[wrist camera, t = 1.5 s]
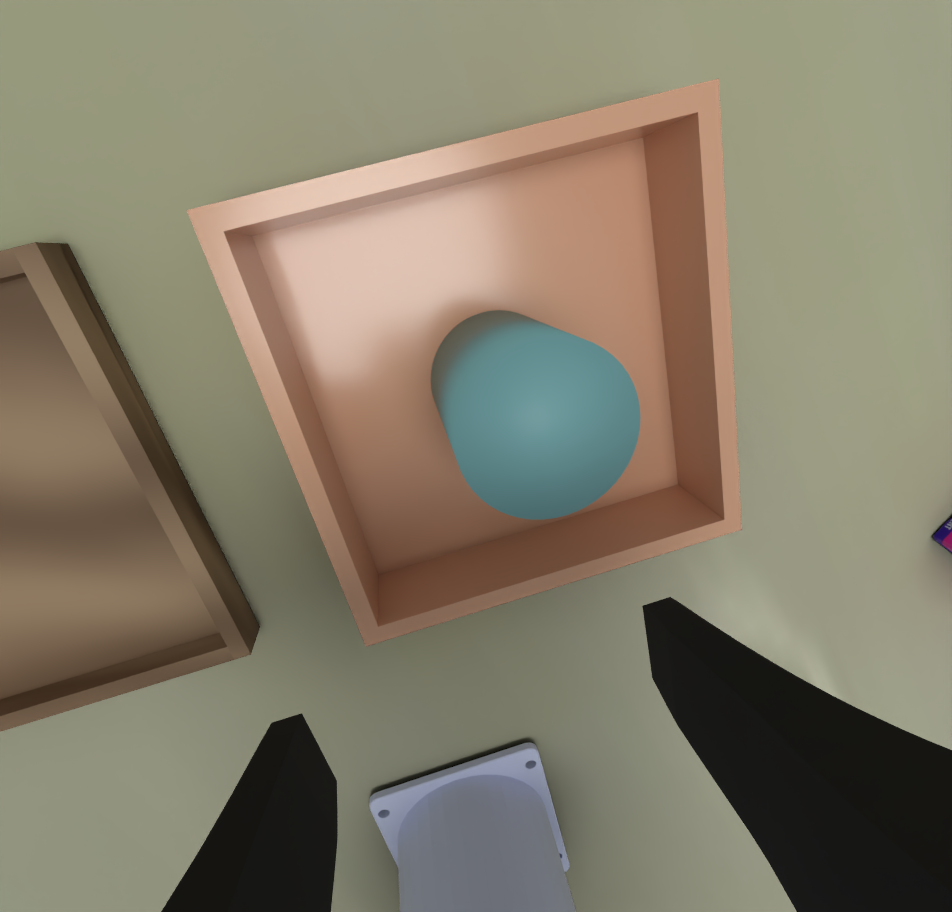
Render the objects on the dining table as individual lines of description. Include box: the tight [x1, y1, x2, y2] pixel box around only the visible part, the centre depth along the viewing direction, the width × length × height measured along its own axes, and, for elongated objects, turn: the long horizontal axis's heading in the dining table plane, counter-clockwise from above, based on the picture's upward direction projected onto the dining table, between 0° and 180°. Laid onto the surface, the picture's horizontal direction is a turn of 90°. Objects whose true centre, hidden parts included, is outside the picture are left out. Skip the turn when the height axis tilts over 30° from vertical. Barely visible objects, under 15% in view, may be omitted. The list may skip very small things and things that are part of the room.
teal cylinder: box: [431, 310, 641, 520], centre depth 15 cm, size 4×4×6 cm
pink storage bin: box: [187, 79, 742, 646], centre depth 17 cm, size 13×13×4 cm
